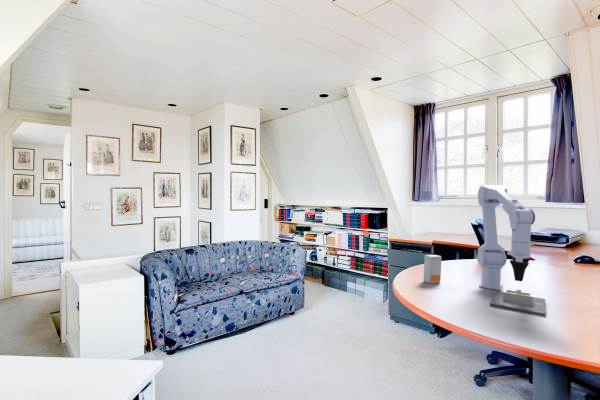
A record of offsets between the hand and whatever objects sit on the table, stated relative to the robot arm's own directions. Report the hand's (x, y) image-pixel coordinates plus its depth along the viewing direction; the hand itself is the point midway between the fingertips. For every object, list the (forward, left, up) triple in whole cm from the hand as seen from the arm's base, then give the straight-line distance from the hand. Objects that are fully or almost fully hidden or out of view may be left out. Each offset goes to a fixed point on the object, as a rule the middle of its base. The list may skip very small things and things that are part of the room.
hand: (519, 278), depth 122 cm
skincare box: (-10, -33, -10) cm, 36 cm away
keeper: (0, 0, -9) cm, 9 cm away
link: (0, 0, -8) cm, 8 cm away
